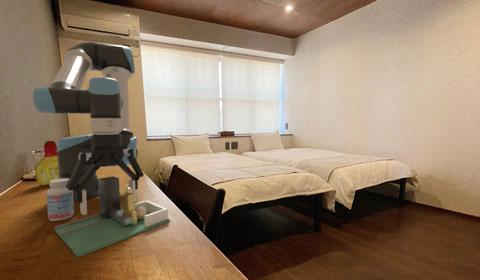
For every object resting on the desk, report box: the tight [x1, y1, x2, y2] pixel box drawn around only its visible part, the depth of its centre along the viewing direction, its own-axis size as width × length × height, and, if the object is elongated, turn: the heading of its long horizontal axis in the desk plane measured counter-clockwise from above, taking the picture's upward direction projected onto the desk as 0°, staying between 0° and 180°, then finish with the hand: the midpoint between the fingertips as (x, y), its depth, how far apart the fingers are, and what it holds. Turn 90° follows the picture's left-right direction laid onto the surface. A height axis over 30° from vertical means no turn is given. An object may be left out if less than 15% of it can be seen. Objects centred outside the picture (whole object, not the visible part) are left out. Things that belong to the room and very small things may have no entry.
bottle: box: [34, 140, 59, 186], centre depth 102 cm, size 12×6×20 cm, turn 138°
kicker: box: [98, 175, 137, 225], centre depth 62 cm, size 14×4×11 cm, turn 51°
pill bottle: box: [46, 179, 75, 222], centre depth 66 cm, size 6×6×11 cm
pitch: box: [54, 208, 171, 258], centre depth 60 cm, size 18×22×1 cm
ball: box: [135, 207, 147, 220], centre depth 63 cm, size 4×4×4 cm
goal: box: [134, 199, 169, 227], centre depth 65 cm, size 12×7×4 cm, turn 51°
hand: (110, 206), depth 65 cm, fingers open, 12 cm apart
